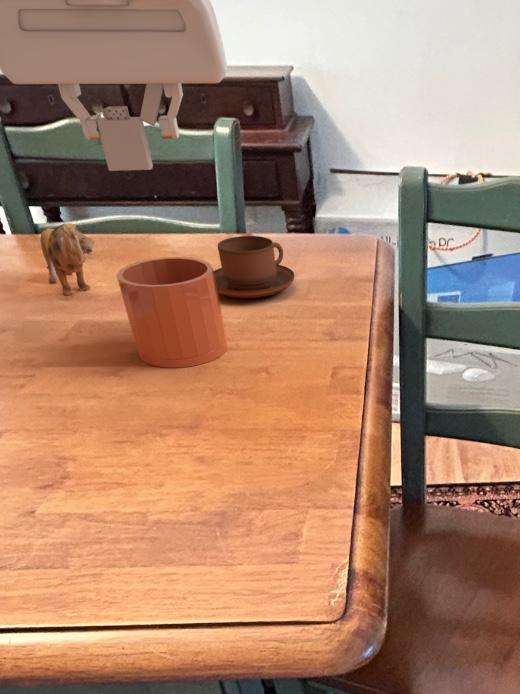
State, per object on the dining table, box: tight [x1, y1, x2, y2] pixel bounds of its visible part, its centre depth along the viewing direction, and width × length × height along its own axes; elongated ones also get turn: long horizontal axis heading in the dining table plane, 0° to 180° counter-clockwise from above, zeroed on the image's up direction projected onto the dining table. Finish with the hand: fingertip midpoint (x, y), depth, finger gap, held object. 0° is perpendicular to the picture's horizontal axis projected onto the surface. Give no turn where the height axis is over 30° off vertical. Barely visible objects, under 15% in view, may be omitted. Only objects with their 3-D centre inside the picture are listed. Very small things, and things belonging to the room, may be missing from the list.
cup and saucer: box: [214, 235, 295, 299], centre depth 101 cm, size 12×12×6 cm
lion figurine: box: [39, 222, 95, 296], centre depth 101 cm, size 15×5×9 cm, turn 45°
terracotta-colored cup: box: [116, 256, 228, 369], centre depth 85 cm, size 10×10×9 cm
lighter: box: [96, 83, 164, 172], centre depth 72 cm, size 7×2×8 cm, turn 100°
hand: (133, 138), depth 73 cm, fingers closed on lighter, 6 cm apart
